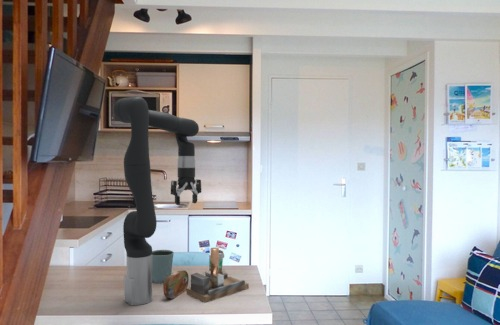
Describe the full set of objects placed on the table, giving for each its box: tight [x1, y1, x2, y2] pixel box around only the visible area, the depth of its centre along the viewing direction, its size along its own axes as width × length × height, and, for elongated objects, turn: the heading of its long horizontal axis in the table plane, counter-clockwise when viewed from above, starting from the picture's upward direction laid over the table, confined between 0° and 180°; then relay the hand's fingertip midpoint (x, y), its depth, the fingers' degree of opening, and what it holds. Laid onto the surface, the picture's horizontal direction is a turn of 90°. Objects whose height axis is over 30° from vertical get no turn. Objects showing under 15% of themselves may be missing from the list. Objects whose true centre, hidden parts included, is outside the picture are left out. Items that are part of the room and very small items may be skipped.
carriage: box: [204, 247, 224, 288], centre depth 152 cm, size 3×8×15 cm, turn 43°
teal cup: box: [152, 249, 174, 284], centre depth 166 cm, size 10×10×12 cm
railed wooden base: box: [186, 272, 250, 303], centre depth 153 cm, size 22×12×8 cm, turn 133°
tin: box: [162, 270, 190, 300], centre depth 150 cm, size 15×3×8 cm, turn 159°
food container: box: [208, 249, 225, 275], centre depth 175 cm, size 12×6×10 cm, turn 179°
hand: (186, 203), depth 166 cm, fingers open, 8 cm apart
